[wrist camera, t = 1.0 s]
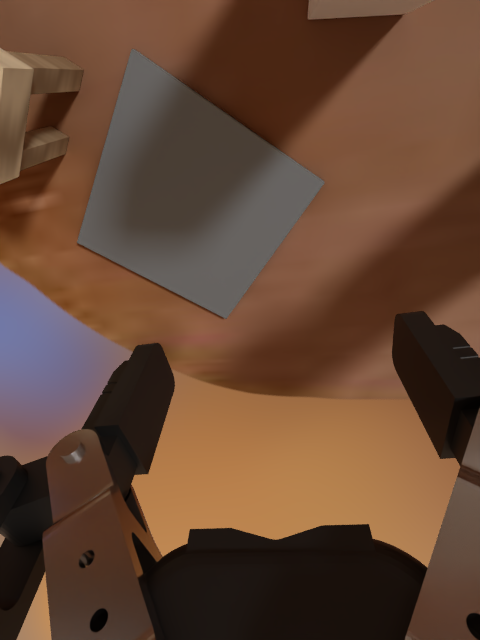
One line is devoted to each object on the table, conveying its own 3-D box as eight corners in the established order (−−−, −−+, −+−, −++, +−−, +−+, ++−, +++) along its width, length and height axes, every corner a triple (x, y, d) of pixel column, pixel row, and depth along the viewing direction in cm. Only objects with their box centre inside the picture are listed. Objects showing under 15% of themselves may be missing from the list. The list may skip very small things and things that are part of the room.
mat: (134, 49, 22) (131, 48, 21) (323, 180, 26) (324, 182, 25) (80, 240, 30) (77, 242, 30) (226, 315, 34) (226, 318, 34)
